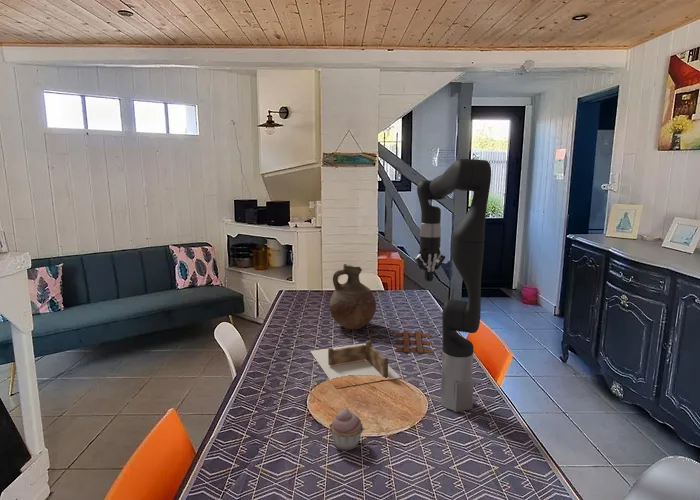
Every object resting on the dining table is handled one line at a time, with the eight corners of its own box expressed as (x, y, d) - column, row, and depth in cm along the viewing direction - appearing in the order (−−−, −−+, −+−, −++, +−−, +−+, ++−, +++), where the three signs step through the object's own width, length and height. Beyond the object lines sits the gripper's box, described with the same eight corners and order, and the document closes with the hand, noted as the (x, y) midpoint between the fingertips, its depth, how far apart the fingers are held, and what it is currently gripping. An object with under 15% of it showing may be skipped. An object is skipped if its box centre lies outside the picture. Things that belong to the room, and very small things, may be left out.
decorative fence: (396, 354, 180) (433, 356, 179) (396, 350, 180) (434, 351, 178) (395, 334, 203) (429, 335, 201) (396, 330, 202) (429, 331, 201)
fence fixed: (389, 377, 158) (389, 357, 157) (383, 378, 157) (383, 358, 156) (370, 358, 174) (370, 340, 173) (364, 359, 174) (364, 340, 172)
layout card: (401, 377, 158) (401, 377, 158) (336, 388, 150) (336, 388, 150) (365, 343, 189) (365, 343, 189) (310, 351, 181) (310, 350, 181)
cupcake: (371, 442, 120) (371, 408, 118) (347, 459, 113) (347, 422, 112) (345, 429, 126) (345, 396, 125) (321, 444, 119) (321, 409, 118)
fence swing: (363, 357, 173) (364, 342, 172) (365, 359, 171) (365, 344, 170) (327, 364, 167) (327, 348, 166) (329, 366, 166) (329, 350, 165)
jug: (383, 331, 204) (384, 267, 198) (339, 338, 196) (338, 271, 191) (364, 317, 223) (364, 258, 218) (323, 323, 216) (322, 261, 210)
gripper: (420, 237, 159) (419, 284, 162) (451, 235, 164) (449, 281, 167) (409, 234, 166) (408, 280, 169) (439, 233, 171) (438, 277, 174)
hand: (428, 280), depth 168 cm, fingers closed
